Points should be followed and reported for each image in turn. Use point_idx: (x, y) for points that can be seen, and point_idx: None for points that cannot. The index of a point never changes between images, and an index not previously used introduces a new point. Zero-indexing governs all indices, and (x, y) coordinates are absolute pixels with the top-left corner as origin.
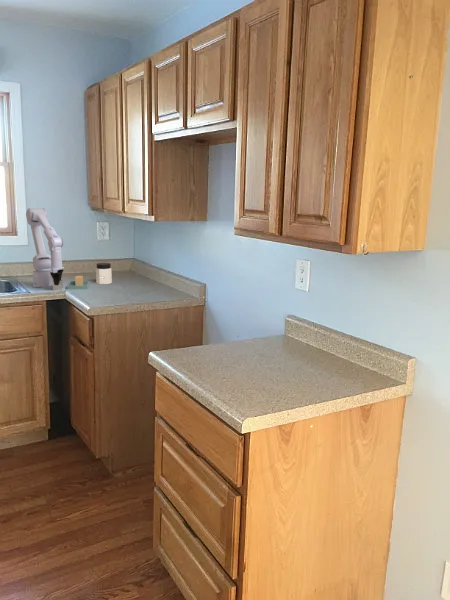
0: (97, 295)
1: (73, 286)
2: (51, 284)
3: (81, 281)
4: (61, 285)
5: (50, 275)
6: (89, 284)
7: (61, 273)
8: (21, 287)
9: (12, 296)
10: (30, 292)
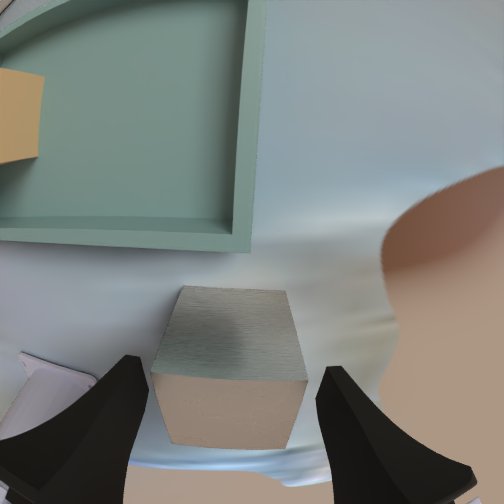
0: (487, 11)
1: (255, 144)
2: (36, 364)
3: (8, 82)
4: (286, 331)
5: (19, 424)
6: (12, 42)
7: (75, 458)
8: (140, 465)
9: None
10: (290, 450)
